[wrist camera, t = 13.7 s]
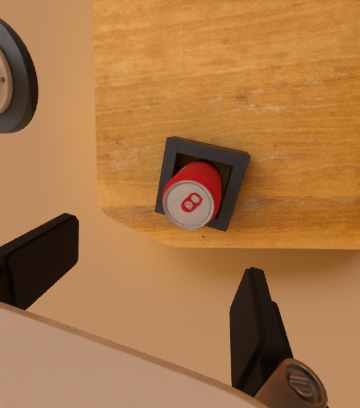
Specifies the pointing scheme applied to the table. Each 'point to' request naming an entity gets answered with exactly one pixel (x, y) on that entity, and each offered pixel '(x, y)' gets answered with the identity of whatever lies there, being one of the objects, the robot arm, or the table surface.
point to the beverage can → (193, 195)
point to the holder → (212, 153)
